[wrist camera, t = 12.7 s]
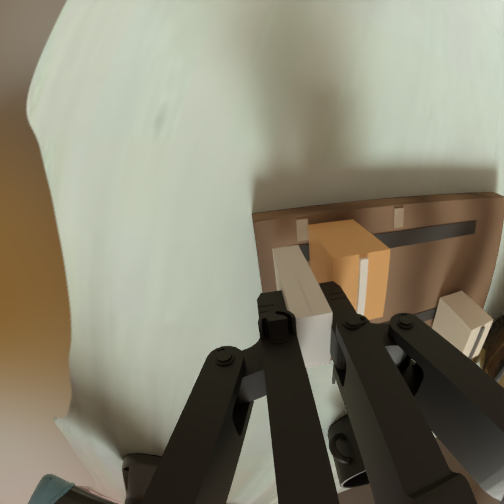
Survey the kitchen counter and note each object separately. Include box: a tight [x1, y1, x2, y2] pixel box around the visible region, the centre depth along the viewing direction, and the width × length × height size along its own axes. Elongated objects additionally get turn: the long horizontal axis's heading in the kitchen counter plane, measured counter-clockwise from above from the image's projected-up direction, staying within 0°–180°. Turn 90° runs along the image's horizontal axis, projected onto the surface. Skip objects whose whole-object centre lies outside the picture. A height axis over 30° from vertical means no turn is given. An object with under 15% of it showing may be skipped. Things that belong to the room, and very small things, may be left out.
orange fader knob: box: [308, 219, 390, 320], centre depth 15 cm, size 3×4×5 cm
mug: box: [328, 415, 370, 488], centre depth 26 cm, size 9×12×9 cm
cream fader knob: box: [432, 291, 493, 359], centre depth 18 cm, size 3×4×5 cm
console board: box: [252, 192, 504, 360], centre depth 20 cm, size 24×13×2 cm, turn 98°
